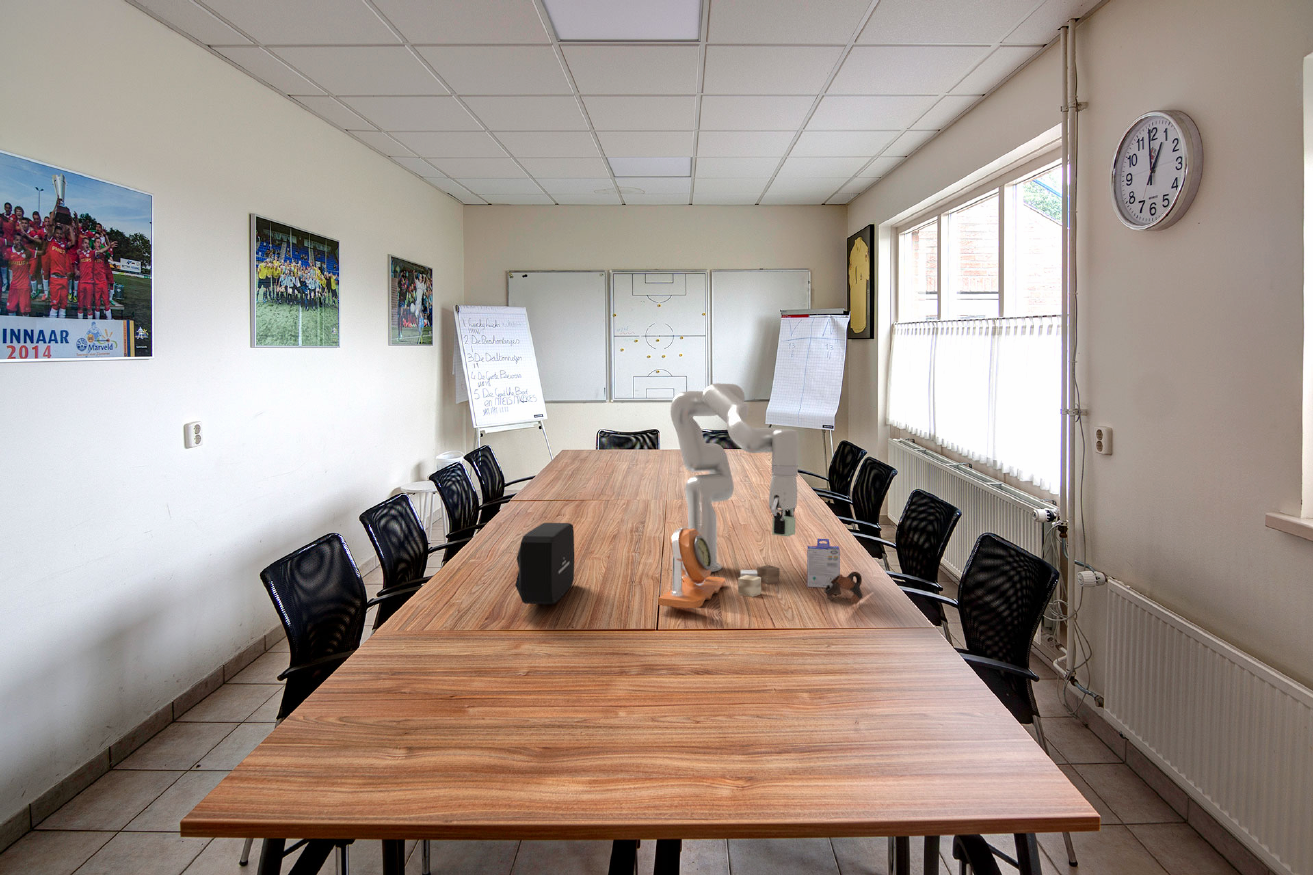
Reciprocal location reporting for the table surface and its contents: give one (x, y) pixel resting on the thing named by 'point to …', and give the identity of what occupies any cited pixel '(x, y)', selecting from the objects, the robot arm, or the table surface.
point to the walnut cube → (768, 574)
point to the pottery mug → (845, 586)
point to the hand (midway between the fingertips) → (783, 531)
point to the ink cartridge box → (822, 564)
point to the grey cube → (749, 573)
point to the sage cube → (786, 526)
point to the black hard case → (546, 563)
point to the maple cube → (749, 586)
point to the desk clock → (690, 571)
